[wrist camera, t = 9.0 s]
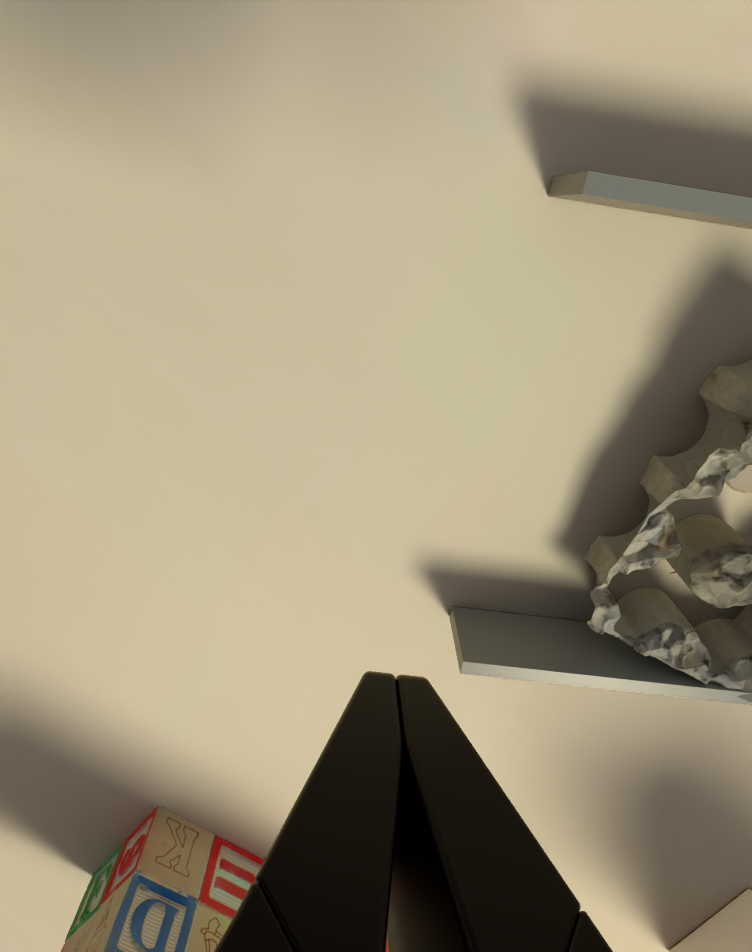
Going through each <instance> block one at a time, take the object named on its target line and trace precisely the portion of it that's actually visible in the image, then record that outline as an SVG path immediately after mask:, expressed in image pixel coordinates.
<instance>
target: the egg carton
mask: <svg viewBox="0 0 752 952" xmlns="http://www.w3.org/2000/svg"><path fill="white" fill-rule="evenodd" d="M698 395H699V396H700V397H701V398H702V399H703V400H704V402H705V404H706V407H707V409H708V412H709V418H708V423H707V426H706V430H705V432H704V434H703V436H702V437H701V439H700V440H699V441H698V442H697V443H696V444H695V445H694V446H693V447H691V448H690V449H688V450H686V451H684V452H682V453H680V454H677V455H674V456H657V455H654V456H653V457H652V459H651V461H650V463H649V465H648V467H647V470H646V472H645V474H644V476H643V478H642V479H641V481H640V484H641V485H642V486H643V487H644V489H645V490H646V492H647V494H648V496H649V508H648V511H647V514H646V516H645V518H644V520H643V521H642V523H640V524H639V525H638V526H637V527H636V528H635V529H633V530H632V531H631V532H628V533H625V534H623V535H619V536H613V537H611V536H601V535H599V537H598V538H597V539H596V540H595V541H594V542H593V543H592V544H591V546H590V548H589V549H588V552H587V554H586V557H585V559H586V560H587V561H588V563H589V564H590V565H591V566H592V567H593V568H594V570H595V572H596V578H597V580H596V584H595V588H594V589H593V590H592V591H591V593H590V598H591V600H592V601H593V603H594V605H595V610H594V613H593V616H592V619H591V620H590V621H587V625H588V626H589V627H590V628H591V629H592V630H594V631H595V632H597V633H599V634H602V635H603V634H604V632H606V633H609V634H611V635H613V636H615V637H617V638H619V639H621V640H622V641H624V642H626V643H627V644H628V645H630V646H631V647H632V648H633V649H634V650H636V651H637V652H639V653H640V654H642V655H644V656H653V657H655V658H657V659H659V660H661V661H663V662H664V663H666V664H668V665H669V666H671V667H672V668H674V669H677V670H680V671H683V672H685V673H687V674H689V675H690V676H692V677H694V678H696V679H698V680H700V681H701V682H703V683H705V684H707V683H708V682H715V683H717V684H719V685H720V686H722V687H724V688H726V689H731V690H741V691H745V692H752V546H751V545H750V544H749V543H748V542H747V541H746V540H745V539H744V538H743V537H741V536H740V535H739V534H738V533H737V532H735V531H734V530H733V529H732V528H731V527H730V526H729V525H728V524H726V523H725V522H724V521H723V520H722V519H720V518H718V517H716V516H713V515H710V514H695V515H691V516H688V517H686V518H684V519H682V520H681V521H679V522H678V523H676V524H675V523H674V517H673V516H672V514H671V513H670V512H669V511H668V510H667V509H666V507H667V506H668V505H670V504H671V503H672V502H674V501H676V500H680V499H701V498H709V497H714V496H718V495H720V493H721V492H722V489H723V485H724V483H725V482H726V484H727V485H728V486H729V487H730V488H732V489H733V490H735V491H739V492H743V493H752V360H750V361H747V362H745V363H743V364H739V365H735V366H725V365H720V366H719V367H717V368H716V369H715V370H714V371H712V372H711V374H710V375H709V376H708V377H707V379H706V380H705V382H704V383H703V385H702V387H701V388H700V390H699V392H698ZM663 559H666V560H667V561H668V562H669V564H670V565H671V566H672V568H673V569H674V570H675V572H672V573H677V574H678V575H679V576H680V577H681V578H682V580H683V581H684V582H685V583H686V585H687V586H688V587H689V588H690V590H691V591H692V592H693V593H694V594H695V595H697V596H698V597H699V598H700V599H702V600H703V601H705V602H707V603H709V604H711V605H713V606H715V607H716V608H729V607H732V606H744V605H746V606H745V608H744V609H743V610H742V611H741V612H740V614H739V615H738V616H737V617H736V618H735V619H733V620H731V619H725V618H717V619H710V620H708V621H706V622H703V623H701V624H699V625H698V626H696V627H695V628H693V627H692V625H691V624H690V623H689V621H688V620H687V619H686V617H685V616H684V615H683V614H682V612H681V611H680V610H679V609H678V607H677V606H676V605H675V603H674V602H673V601H672V600H671V599H670V598H669V597H668V596H667V595H666V594H665V593H664V592H663V591H661V590H659V589H657V588H649V587H647V588H639V589H635V590H633V591H630V592H628V593H627V594H625V595H624V596H622V597H621V598H620V599H619V600H618V601H617V602H616V601H615V599H614V598H613V596H612V595H611V593H610V592H609V590H608V588H607V586H608V585H609V583H610V581H611V579H612V578H613V577H614V576H615V575H616V574H617V573H618V572H619V571H620V572H622V573H624V574H626V575H628V574H629V573H630V572H632V571H633V570H637V569H650V568H651V567H652V566H654V565H655V564H656V563H657V562H658V561H660V560H663ZM668 574H669V573H668ZM737 697H740V698H742V699H744V700H747V701H749V702H751V703H752V694H744V695H739V696H737Z"/></svg>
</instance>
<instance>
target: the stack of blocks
mask: <svg viewBox="0 0 752 952" xmlns="http://www.w3.org/2000/svg"><path fill="white" fill-rule="evenodd" d="M263 862H264V860H263V859H262V858H260V857H258V856H256V855H254V854H252V853H250V852H248V851H246V850H244V849H242V848H240V847H238V846H236V845H234V844H232V843H230V842H228V841H226V840H224V839H222V838H220V837H218V836H217V835H214V834H213V833H211V832H209V831H207V830H206V829H204V828H202V827H200V826H198V825H196V824H194V823H192V822H190V821H188V820H186V819H184V818H182V817H180V816H178V815H176V814H174V813H172V812H170V811H168V810H166V809H164V808H162V807H157V808H156V809H155V810H154V811H153V812H152V813H151V814H150V815H149V816H148V817H147V818H146V819H145V821H144V822H143V823H142V824H141V825H140V826H139V827H138V828H137V829H136V830H135V831H134V832H133V833H132V834H131V835H130V836H129V837H128V838H127V839H126V841H125V843H124V844H123V845H122V846H121V847H120V848H119V849H118V850H117V851H116V852H115V853H114V854H113V855H112V856H111V857H110V858H109V859H108V860H107V861H106V862H105V863H104V864H103V865H102V866H101V867H100V869H99V870H98V871H96V872H95V873H94V874H93V876H92V879H91V881H90V883H89V885H88V887H87V890H86V892H85V894H84V897H83V899H82V901H81V903H80V906H79V908H78V911H77V913H76V916H75V918H74V921H73V923H72V925H71V928H70V930H69V932H68V934H67V937H66V940H65V944H64V946H63V948H62V950H61V952H214V950H215V949H216V947H217V945H218V943H219V942H220V940H221V938H222V936H223V935H224V933H225V931H226V930H227V928H228V926H229V924H230V923H231V921H232V919H233V917H234V916H235V914H236V912H237V910H238V908H239V906H240V904H241V902H242V901H243V899H244V897H245V895H246V893H247V891H248V889H249V888H250V886H251V884H253V883H255V877H256V875H257V873H258V872H259V870H260V868H261V866H262V864H263ZM385 952H389V948H388V936H387V940H386V951H385Z"/></svg>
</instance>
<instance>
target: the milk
mask: <svg viewBox="0 0 752 952" xmlns="http://www.w3.org/2000/svg"><path fill="white" fill-rule="evenodd" d="M669 952H752V890H751V889H747V890H746V891H745V892H743V893H742V894H741V895H739V896H738V897H737V898H736V899H734V900H733V901H732V902H731V903H729V904H728V905H727V906H725V907H724V908H723V909H722V910H720V911H719V912H718V913H717V914H715V915H714V916H713V917H711V918H710V919H709V920H708V921H706V922H705V923H704V924H703V925H701V926H700V927H699V928H697V929H696V930H695V931H694V932H692V933H691V934H690V935H688V936H687V937H686V938H685V939H683V940H682V941H681V942H680V943H678V944H677V945H676V946H674V947H673V948H672V949H671V950H669Z"/></svg>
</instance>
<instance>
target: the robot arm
mask: <svg viewBox="0 0 752 952" xmlns="http://www.w3.org/2000/svg"><path fill="white" fill-rule="evenodd" d="M579 911H580V903H579V902H578V900H577V899H576V897H575V896H574V894H573V893H572V891H571V890H570V889H569V887H568V886H567V884H566V883H565V881H564V880H563V878H562V877H561V875H560V874H559V872H558V871H557V869H556V868H555V866H554V865H553V863H552V862H551V861H550V859H549V858H548V856H547V855H546V853H545V852H544V850H543V849H542V847H541V846H540V844H539V843H538V841H537V840H536V838H535V837H534V836H533V834H532V833H531V831H530V830H529V828H528V827H527V825H526V824H525V822H524V821H523V819H522V818H521V816H520V815H519V813H518V812H517V810H516V809H515V808H514V806H513V805H512V803H511V802H510V800H509V799H508V797H507V796H506V794H505V793H504V791H503V790H502V788H501V787H500V785H499V784H498V782H497V781H496V780H495V778H494V777H493V775H492V774H491V772H490V771H489V769H488V768H487V766H486V765H485V763H484V762H483V760H482V759H481V757H480V756H479V755H478V753H477V752H476V750H475V749H474V747H473V746H472V744H471V743H470V741H469V740H468V738H467V737H466V735H465V734H464V732H463V731H462V729H461V728H460V727H459V725H458V724H457V722H456V721H455V719H454V718H453V716H452V715H451V713H450V712H449V710H448V709H447V707H446V706H445V704H444V703H443V701H442V700H441V699H440V697H439V696H438V694H437V693H436V691H435V690H434V688H433V687H432V685H431V684H430V682H429V681H428V680H427V679H426V678H424V677H418V676H409V675H399V676H397V677H396V679H395V677H394V675H392V674H390V673H381V672H372V671H368V672H366V673H365V674H364V675H363V676H362V678H361V680H360V682H359V684H358V686H357V688H356V690H355V691H354V693H353V695H352V697H351V699H350V701H349V703H348V705H347V706H346V708H345V710H344V712H343V714H342V716H341V718H340V720H339V721H338V723H337V725H336V727H335V729H334V731H333V733H332V735H331V736H330V738H329V740H328V742H327V744H326V746H325V748H324V750H323V752H322V753H321V755H320V757H319V759H318V761H317V763H316V765H315V767H314V768H313V770H312V772H311V774H310V776H309V778H308V780H307V782H306V783H305V785H304V787H303V789H302V791H301V793H300V795H299V797H298V798H297V800H296V802H295V804H294V806H293V808H292V810H291V812H290V813H289V815H288V817H287V819H286V821H285V823H284V825H283V827H282V828H281V830H280V832H279V834H278V836H277V838H276V840H275V842H274V843H273V845H272V847H271V849H270V851H269V853H268V855H267V857H266V858H265V860H264V862H263V864H262V866H261V868H260V870H259V872H258V873H257V875H256V877H255V883H253V884H251V886H250V888H249V889H248V891H247V893H246V895H245V897H244V899H243V901H242V902H241V904H240V906H239V908H238V910H237V912H236V914H235V916H234V917H233V919H232V921H231V923H230V924H229V926H228V928H227V930H226V931H225V933H224V935H223V936H222V938H221V940H220V942H219V943H218V945H217V947H216V949H215V950H214V952H385V951H386V940H387V936H388V948H389V952H613V951H612V950H611V948H610V947H609V946H608V944H607V943H606V941H605V940H604V938H603V937H602V935H601V934H600V932H599V931H598V929H597V928H596V926H595V925H594V923H593V922H592V920H591V919H590V918H589V916H588V915H587V913H586V912H585V911H580V912H579Z"/></svg>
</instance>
